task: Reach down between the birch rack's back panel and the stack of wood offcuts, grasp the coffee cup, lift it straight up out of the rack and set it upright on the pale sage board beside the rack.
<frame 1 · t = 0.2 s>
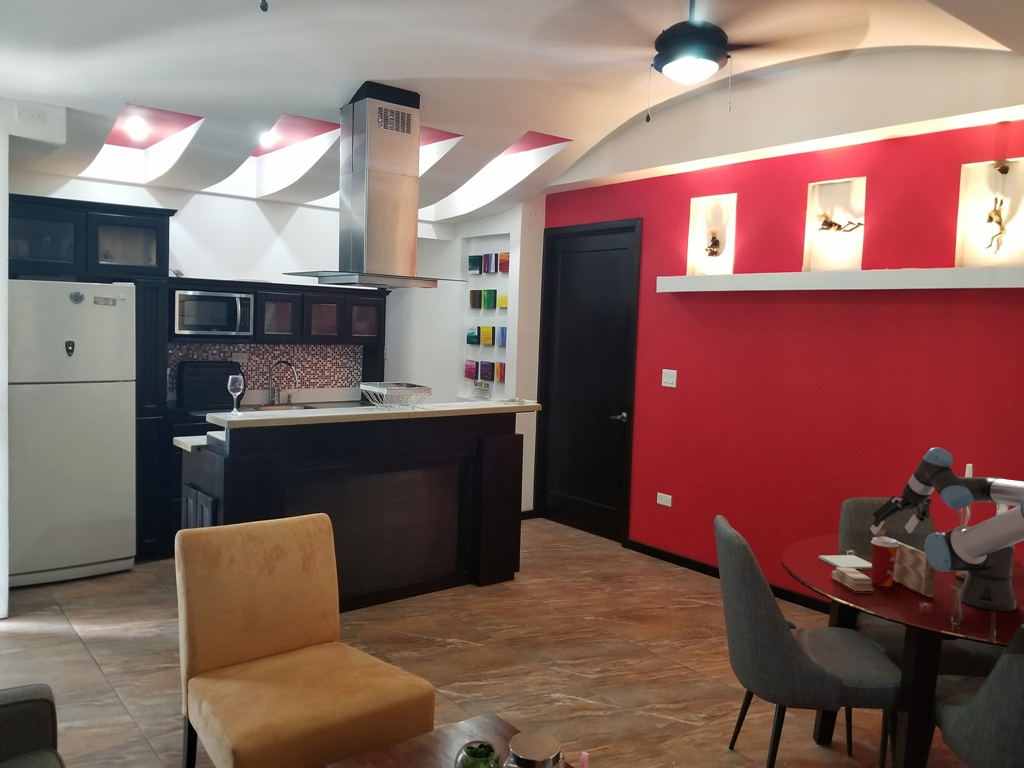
hand: (890, 531, 270), 15 cm above the table, tool tilted 35°, fingers open, 13 cm apart
sage board: (847, 563, 283), on the table
offcut stack: (851, 586, 258), on the table
coffee cup: (881, 584, 260), on the table
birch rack: (876, 584, 260), on the table
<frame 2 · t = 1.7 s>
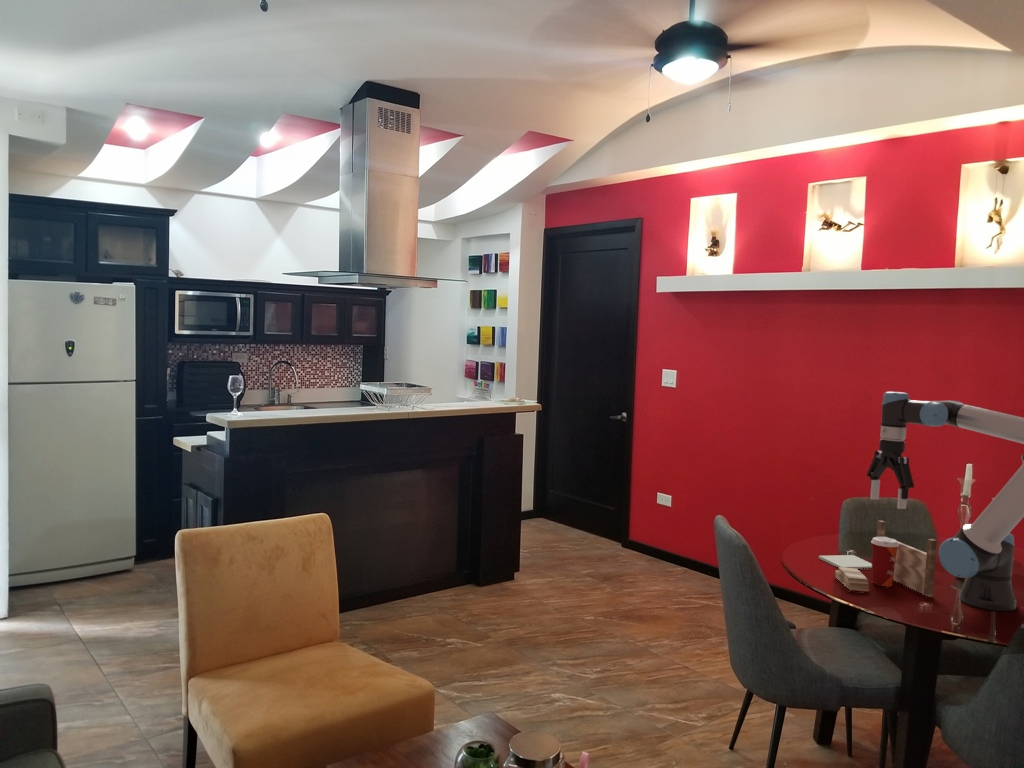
hand: (887, 503, 259), 27 cm above the table, tool pointing down, fingers open, 13 cm apart
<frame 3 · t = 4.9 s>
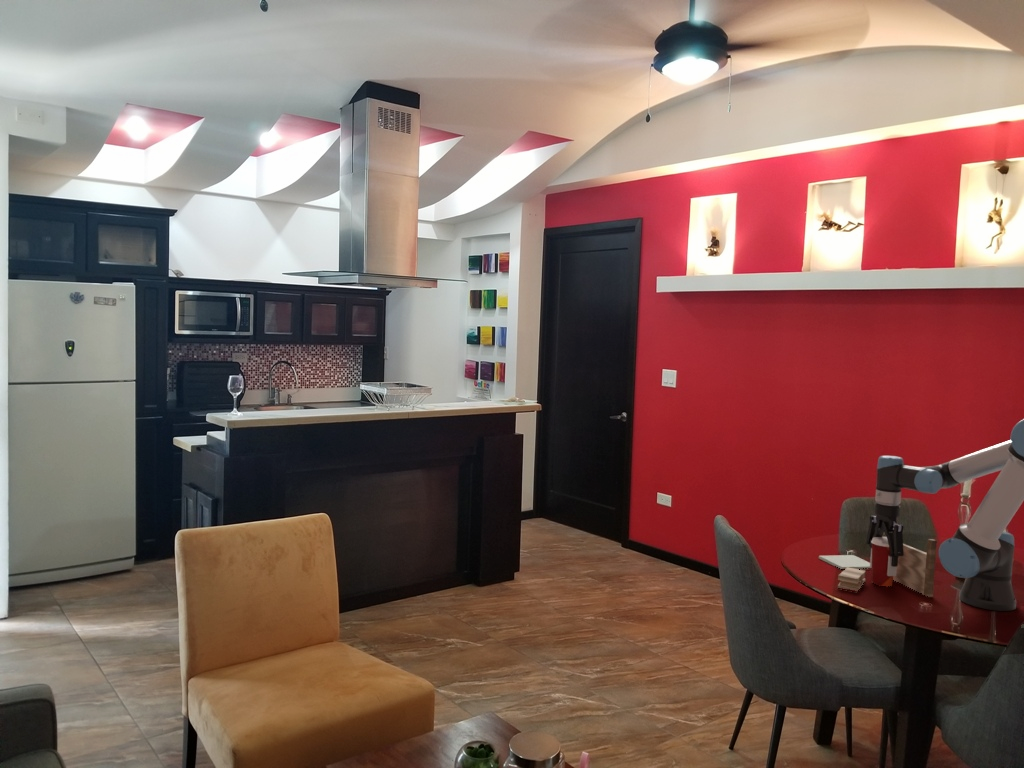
hand: (882, 571, 260), 4 cm above the table, tool pointing down, fingers closed on coffee cup, 8 cm apart
coffee cup: (881, 584, 260), on the table, touching gripper
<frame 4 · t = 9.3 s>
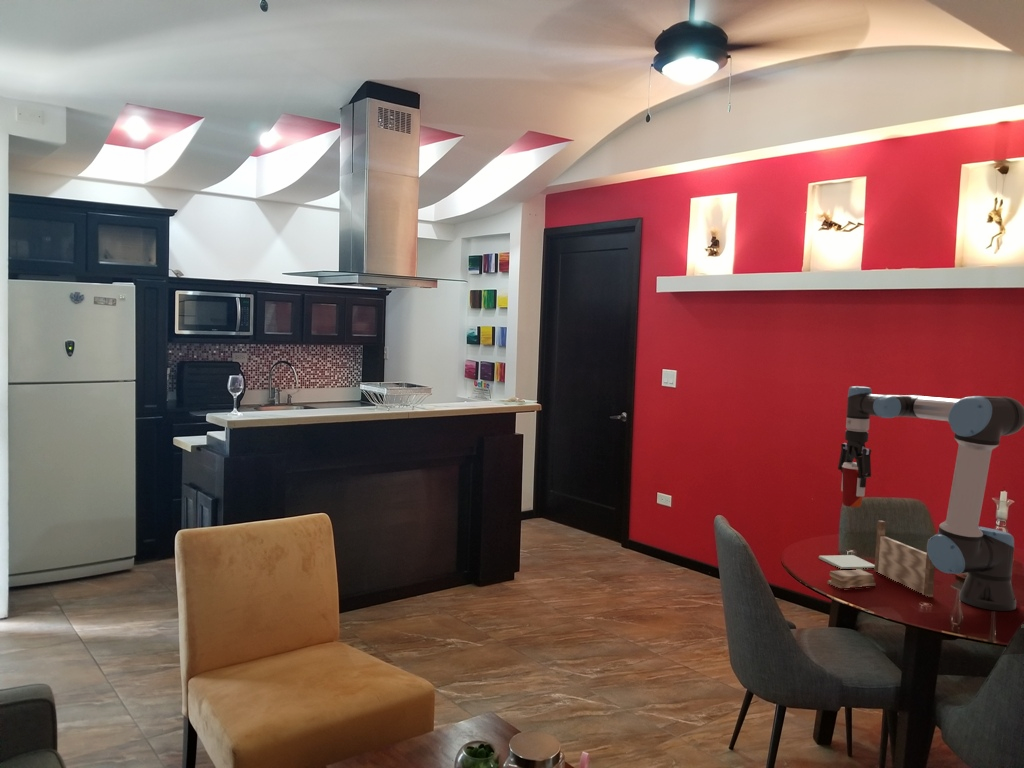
hand: (852, 493, 282), 25 cm above the table, tool pointing down, fingers closed on coffee cup, 8 cm apart
coffee cup: (851, 505, 282), point 21 cm above the table, touching gripper
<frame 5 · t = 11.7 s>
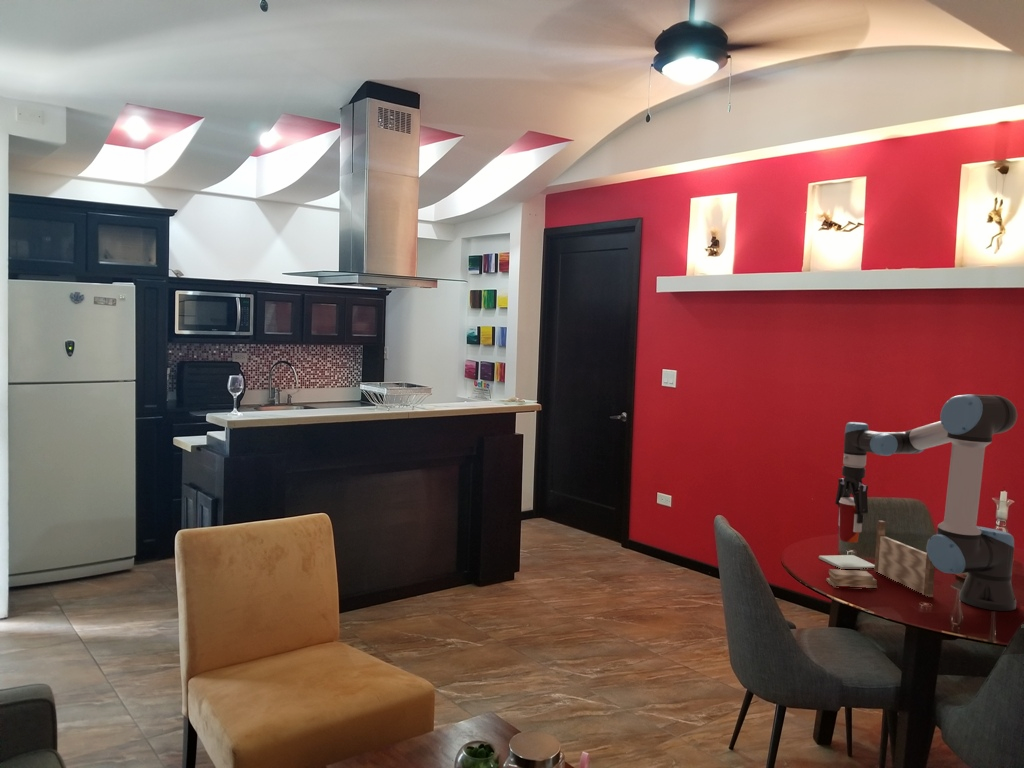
hand: (849, 528, 283), 13 cm above the table, tool pointing down, fingers closed on coffee cup, 8 cm apart
coffee cup: (848, 541, 283), point 8 cm above the table, touching gripper
when the fingers open (6 cm above the table, at t = 13.9 s): coffee cup stays where it is, resting on sage board.
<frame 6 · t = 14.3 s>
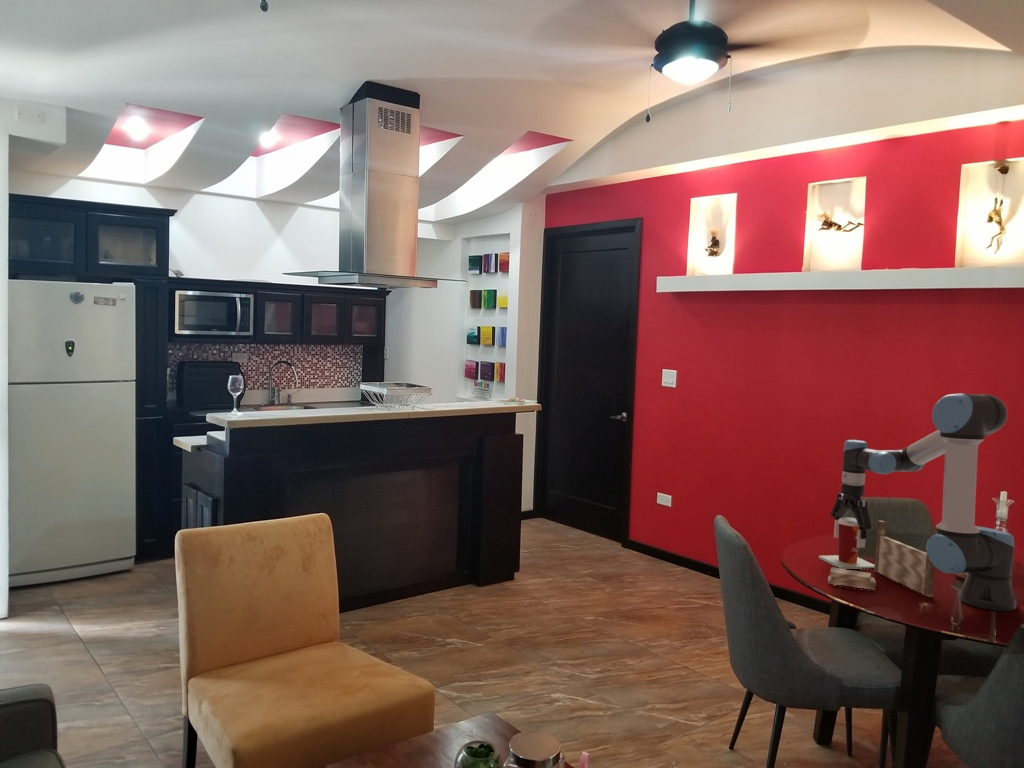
hand: (848, 542, 283), 8 cm above the table, tool pointing down, fingers open, 13 cm apart
coffee cup: (847, 561, 283), point 1 cm above the table, touching sage board
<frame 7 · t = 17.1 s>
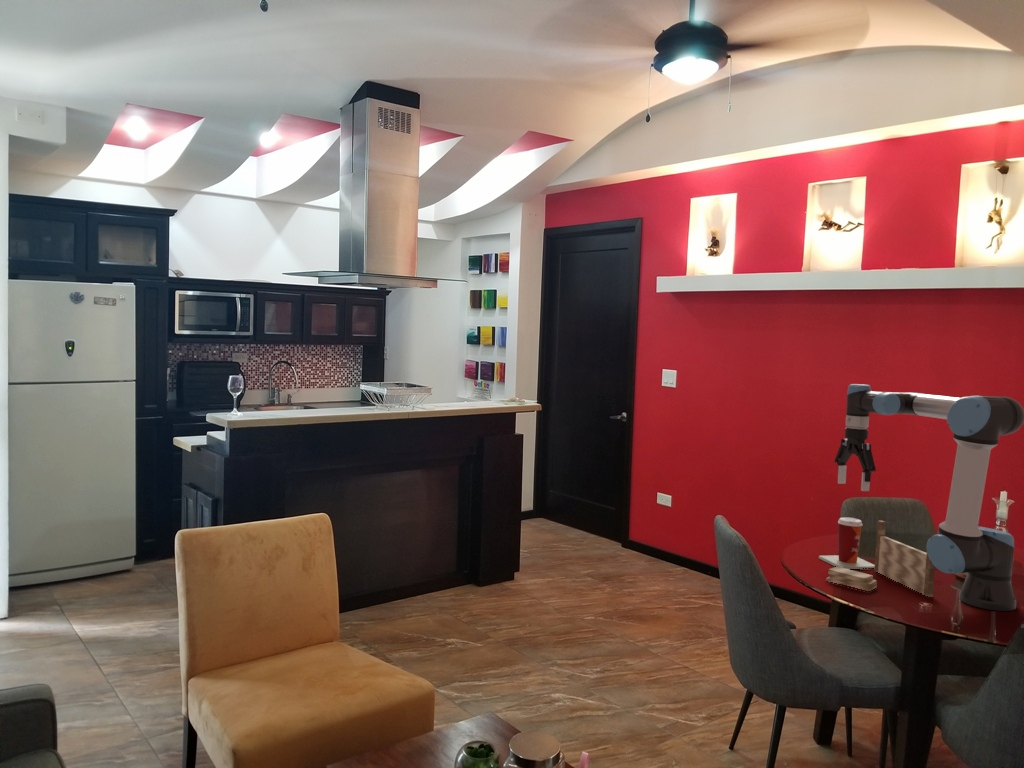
hand: (853, 487, 282), 28 cm above the table, tool pointing down, fingers open, 13 cm apart
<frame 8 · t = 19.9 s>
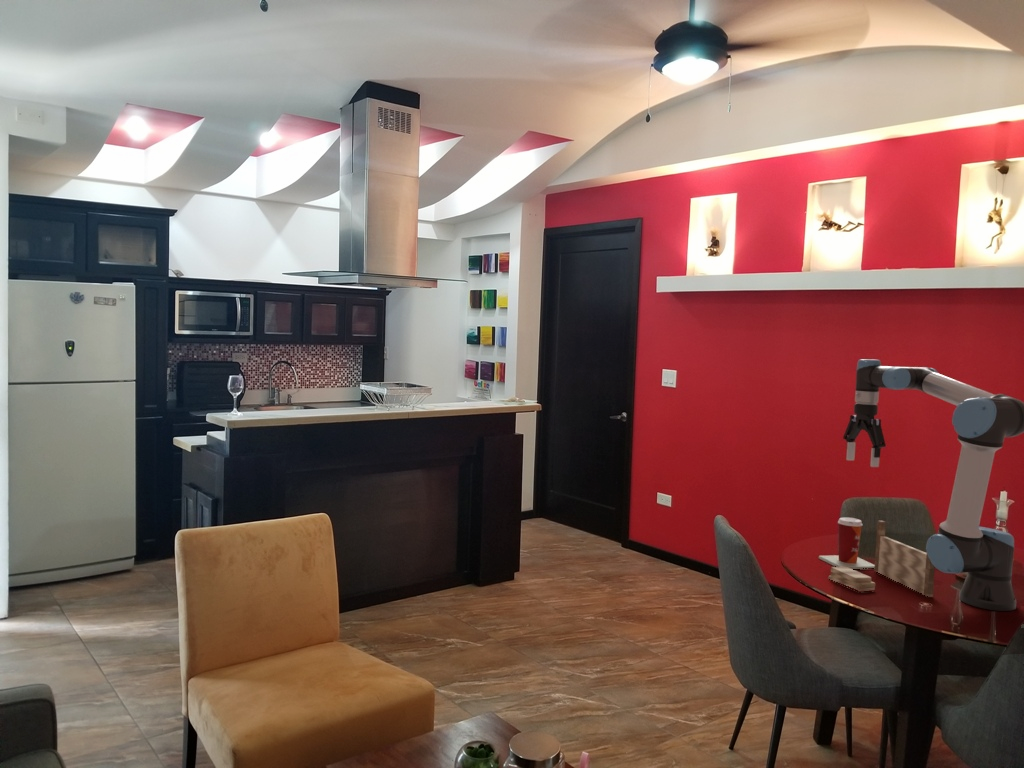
hand: (862, 463, 278), 37 cm above the table, tool pointing down, fingers open, 13 cm apart
at the end: coffee cup inside the target area on the sage board (0.1 cm from its centre), point 1.2 cm above the sage board's base; coffee cup tilted 0°; offcut stack moved 0.5 cm from its start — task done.
